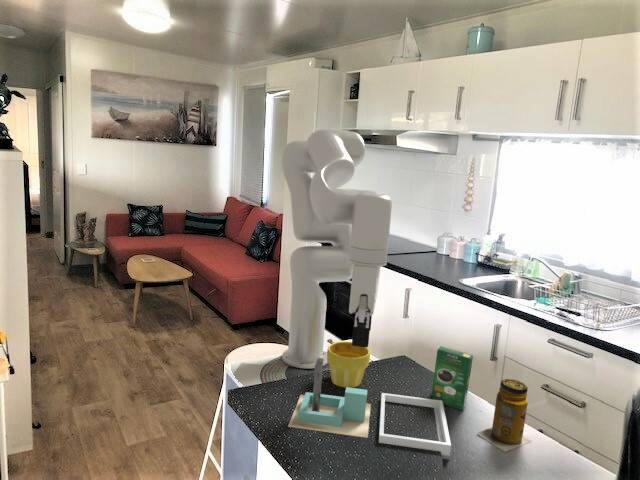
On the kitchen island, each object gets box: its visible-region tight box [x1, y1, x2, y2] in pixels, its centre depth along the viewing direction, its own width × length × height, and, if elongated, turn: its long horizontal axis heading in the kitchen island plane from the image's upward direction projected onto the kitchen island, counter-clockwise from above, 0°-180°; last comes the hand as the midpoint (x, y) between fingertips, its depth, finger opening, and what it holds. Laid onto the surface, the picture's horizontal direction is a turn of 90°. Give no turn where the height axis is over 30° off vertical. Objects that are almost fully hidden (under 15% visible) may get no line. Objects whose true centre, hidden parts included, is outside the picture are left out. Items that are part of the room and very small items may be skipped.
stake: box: [312, 358, 324, 412], centre depth 106 cm, size 5×2×11 cm, turn 172°
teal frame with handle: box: [298, 387, 368, 427], centre depth 106 cm, size 9×14×6 cm, turn 82°
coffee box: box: [430, 345, 474, 411], centre depth 117 cm, size 8×3×13 cm, turn 59°
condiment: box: [476, 378, 532, 452], centre depth 104 cm, size 7×8×12 cm
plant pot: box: [326, 341, 371, 388], centre depth 122 cm, size 10×10×10 cm
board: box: [287, 394, 372, 439], centre depth 106 cm, size 14×16×2 cm
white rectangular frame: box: [378, 392, 452, 461], centre depth 105 cm, size 18×14×3 cm
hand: (361, 337), depth 102 cm, fingers open, 9 cm apart
